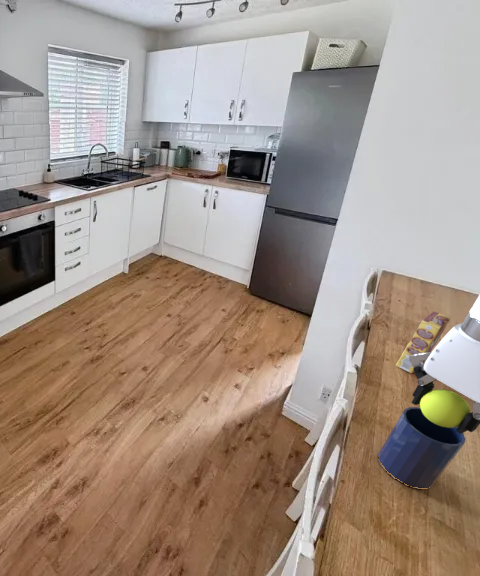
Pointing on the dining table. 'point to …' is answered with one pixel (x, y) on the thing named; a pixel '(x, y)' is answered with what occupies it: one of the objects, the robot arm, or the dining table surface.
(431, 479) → the blue round container
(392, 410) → the dining table surface
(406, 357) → the candy box
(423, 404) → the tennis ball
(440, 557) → the dining table surface
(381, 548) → the dining table surface
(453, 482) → the dining table surface
